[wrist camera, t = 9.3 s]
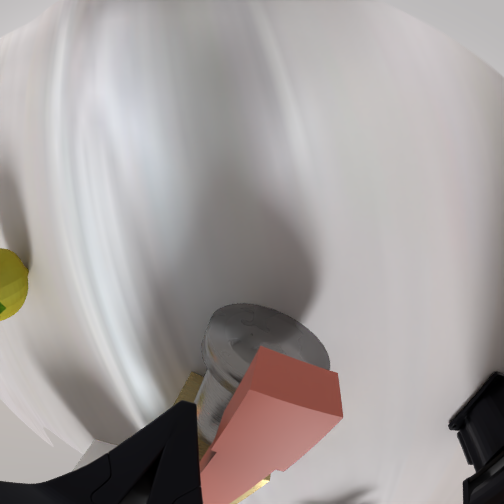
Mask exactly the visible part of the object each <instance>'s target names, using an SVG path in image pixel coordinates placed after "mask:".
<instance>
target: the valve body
mask: <svg viewBox="0 0 504 504" xmlns="http://www.w3.org/2000/svg"><path fill="white" fill-rule="evenodd" d="M260 346H263V347H265V348H268V349H271V350H273V351H276V352H278V353H281V354H284V355H286V356H289V357H292V358H295V359H297V360H300V361H303V362H306V363H309V364H312V365H315V366H317V367H320V368H323V369H326V370H330V360H329V356H328V353H327V351H326V349H325V347H324V346H323V344H322V343H321V342H320V340H319V339H318V338H317V337H316V336H315V335H314V334H313V333H312V332H311V331H310V330H309V329H307V328H306V327H305V326H303V325H302V324H301V323H299V322H298V321H296V320H294V319H293V318H291V317H289V316H287V315H285V314H283V313H281V312H278V311H276V310H273V309H270V308H267V307H263V306H259V305H254V304H231V305H227V306H224V307H222V308H220V309H218V310H217V311H216V312H215V313H214V314H213V315H212V317H211V319H210V322H209V324H208V327H207V330H206V333H205V335H204V338H203V341H202V356H203V360H204V362H205V365H206V366H207V368H208V369H207V371H206V374H205V376H204V377H203V376H201V375H198V374H196V373H194V372H191V374H190V376H189V378H188V379H187V381H186V383H185V385H184V387H183V389H182V390H181V392H180V394H179V396H178V398H177V400H176V401H175V403H174V405H175V404H176V403H178V402H179V401H181V400H185V401H188V402H192V403H195V404H196V405H197V426H198V446H199V462H200V461H201V459H202V458H203V456H204V455H205V453H206V452H207V450H208V449H209V447H210V445H211V444H212V442H213V441H214V439H215V436H216V433H217V431H218V428H219V425H220V422H221V419H222V416H223V413H224V411H225V409H226V407H227V405H228V404H229V402H230V400H231V398H232V397H233V395H234V393H235V391H236V390H237V388H238V386H239V384H240V382H241V381H242V379H243V377H244V375H245V373H246V372H247V370H248V368H249V366H250V364H251V362H252V360H253V359H254V357H255V355H256V353H257V351H258V349H259V347H260ZM174 405H173V406H174ZM270 475H271V474H269V475H268V476H267V477H266V478H264V479H263V480H262V481H260V482H259V483H258V484H256V485H255V486H254V487H252V488H251V489H250V490H248V491H247V492H246V493H244V494H243V495H241V496H240V497H238V498H237V499H236V500H234V501H233V502H231V503H230V504H237V503H239V502H240V501H242V500H243V499H245V498H246V497H248V496H249V495H251V494H252V493H254V492H255V491H257V490H258V489H259V488H261V487H262V486H263V485H265V484H266V483H267V482H269V481H270Z"/></svg>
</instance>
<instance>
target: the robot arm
mask: <svg viewBox="0 0 504 504" xmlns="http://www.w3.org/2000/svg"><path fill="white" fill-rule="evenodd" d="M448 427H449V429H450V430H457V431H459V432H458V433H457V437H458V439H459V442H460V444H461V447H462V449H463V452H464V454H465V457H466V460H467V462H468V464H469V465H474V468H475V471H476V473H475V474H474V475H472V476H471V477H469V478H467V479H466V480H464V481H463V504H504V374H502V373H499V372H495V373H494V374H493V375H492V376H491V377H490V378H489V380H488V381H487V382H486V383H485V385H484V386H483V387H482V388H481V390H480V391H479V392H478V393H477V394H476V396H475V397H474V398H473V399H472V400H471V401H470V402H469V404H468V405H467V406H466V407H465V408H464V409H463V410H462V411H461V412H460V413H459V414H458V415H457V417H456V418H455V419H454V420H453V421H452V422H451V423H450V424H449V425H448ZM108 453H109V454H108ZM108 453H106V454H104V455H103V456H101V457H99V458H98V459H96V460H94V461H93V462H91V463H89V464H87V465H85V466H83V467H81V468H79V469H77V470H75V471H72V472H70V473H67V474H65V475H62V476H60V477H57V478H54V479H52V480H49V481H46V482H42V483H36V484H23V483H13V482H4V481H0V504H203V497H202V488H201V476H200V462H199V446H198V426H197V405H196V404H195V403H192V402H188V401H185V400H181V401H179V402H178V403H176V404H175V405H174V406H173V407H171V408H170V409H169V410H167V411H166V412H165V413H163V414H162V415H160V416H159V417H158V418H156V419H155V420H154V421H152V422H151V423H150V424H148V425H147V426H145V427H144V428H143V429H141V430H140V431H138V432H137V433H135V434H134V435H133V436H131V437H130V438H128V439H127V440H125V441H124V442H122V443H121V444H119V445H118V446H116V447H115V448H113V449H112V450H110V451H109V452H108Z"/></svg>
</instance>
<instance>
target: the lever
mask: <svg viewBox="0 0 504 504" xmlns="http://www.w3.org/2000/svg"><path fill="white" fill-rule="evenodd" d="M342 418H343V411H342V403H341V394H340V387H339V379H338V373H336V372H333V371H329V370H326V369H323V368H320V367H317V366H315V365H312V364H309V363H306V362H303V361H300V360H297V359H295V358H292V357H289V356H286V355H284V354H281V353H278V352H276V351H273V350H271V349H268V348H265V347H263V346H260V347H259V349H258V351H257V353H256V355H255V357H254V359H253V360H252V362H251V364H250V366H249V368H248V370H247V372H246V373H245V375H244V377H243V379H242V381H241V382H240V384H239V386H238V388H237V390H236V391H235V393H234V395H233V397H232V398H231V400H230V402H229V404H228V405H227V407H226V409H225V411H224V413H223V416H222V419H221V422H220V425H219V428H218V431H217V433H216V436H215V439H214V441H213V442H212V444H211V445H210V447H209V449H208V450H207V452H206V453H205V455H204V456H203V458H202V459H201V461H200V476H201V488H202V497H203V504H230V503H231V502H233V501H234V500H236V499H237V498H238V497H240V496H241V495H243V494H244V493H246V492H247V491H248V490H250V489H251V488H252V487H254V486H255V485H256V484H258V483H259V482H260V481H262V480H263V479H264V478H266V477H267V476H268V475H269V474H271V473H272V472H273V471H274V470H279V471H285V470H286V469H288V468H289V467H290V466H291V465H293V464H294V463H295V462H296V461H297V460H299V459H300V458H301V457H302V456H303V455H304V454H306V453H307V452H308V451H309V450H310V449H311V448H312V447H313V446H315V445H316V444H317V443H318V442H319V441H320V440H321V439H322V438H323V437H324V436H325V435H326V434H327V433H328V432H329V431H330V430H331V429H332V428H333V427H334V426H335V425H336V424H337V423H338V422H339V421H340V420H341V419H342Z"/></svg>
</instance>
